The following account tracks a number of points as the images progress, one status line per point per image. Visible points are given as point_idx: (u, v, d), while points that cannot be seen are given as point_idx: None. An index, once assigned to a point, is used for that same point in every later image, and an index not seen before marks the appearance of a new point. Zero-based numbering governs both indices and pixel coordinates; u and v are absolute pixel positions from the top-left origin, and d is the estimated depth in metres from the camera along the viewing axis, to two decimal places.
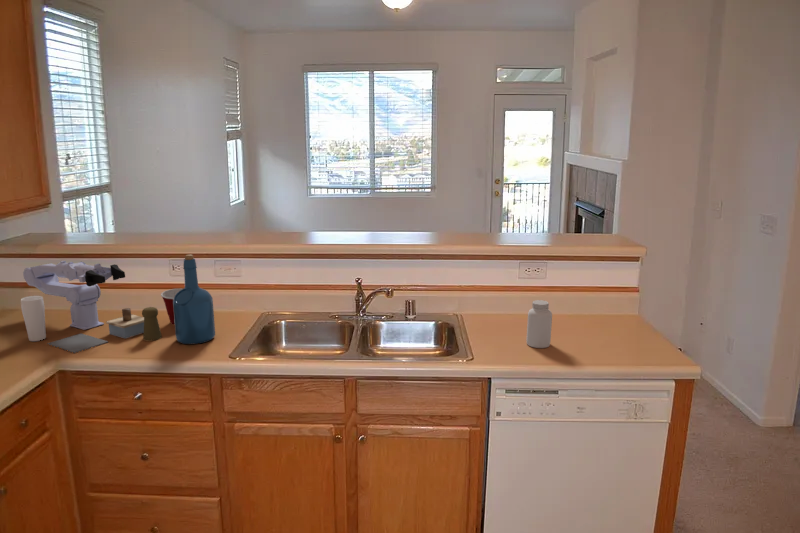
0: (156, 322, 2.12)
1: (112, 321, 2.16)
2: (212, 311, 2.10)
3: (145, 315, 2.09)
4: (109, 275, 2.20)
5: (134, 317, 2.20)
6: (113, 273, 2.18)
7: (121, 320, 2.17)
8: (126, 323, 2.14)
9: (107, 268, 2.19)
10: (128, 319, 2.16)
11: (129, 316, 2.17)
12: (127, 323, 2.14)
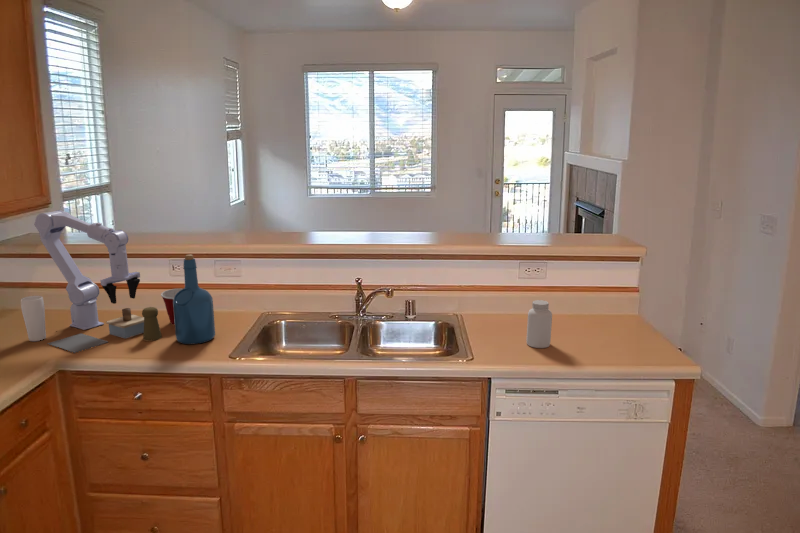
0: (156, 322, 2.12)
1: (112, 321, 2.16)
2: (212, 311, 2.10)
3: (145, 315, 2.09)
4: None
5: (134, 317, 2.20)
6: (130, 282, 2.24)
7: (121, 320, 2.17)
8: (126, 323, 2.14)
9: None
10: (128, 319, 2.16)
11: (129, 316, 2.17)
12: (127, 323, 2.14)
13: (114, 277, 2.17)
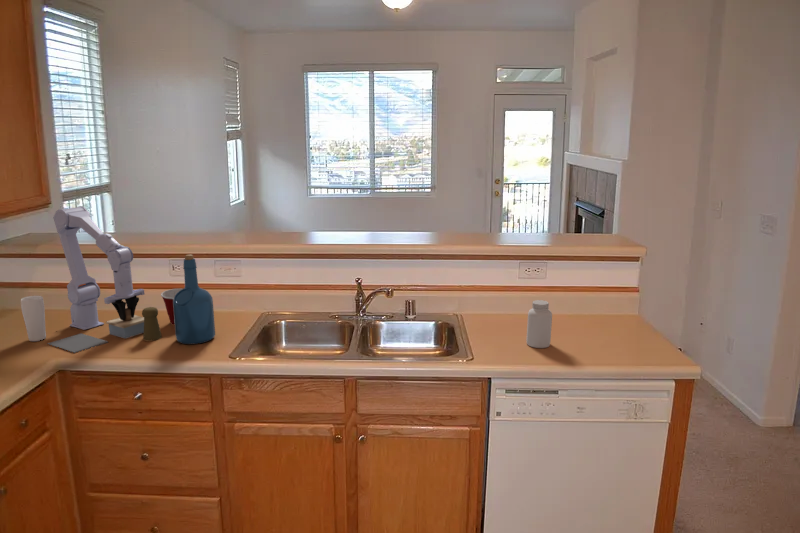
0: (156, 322, 2.12)
1: (112, 321, 2.16)
2: (212, 311, 2.10)
3: (145, 315, 2.09)
4: None
5: (134, 317, 2.20)
6: (129, 301, 2.17)
7: (121, 320, 2.17)
8: (126, 323, 2.14)
9: None
10: (128, 319, 2.16)
11: (129, 316, 2.17)
12: (127, 323, 2.14)
13: (118, 295, 2.13)
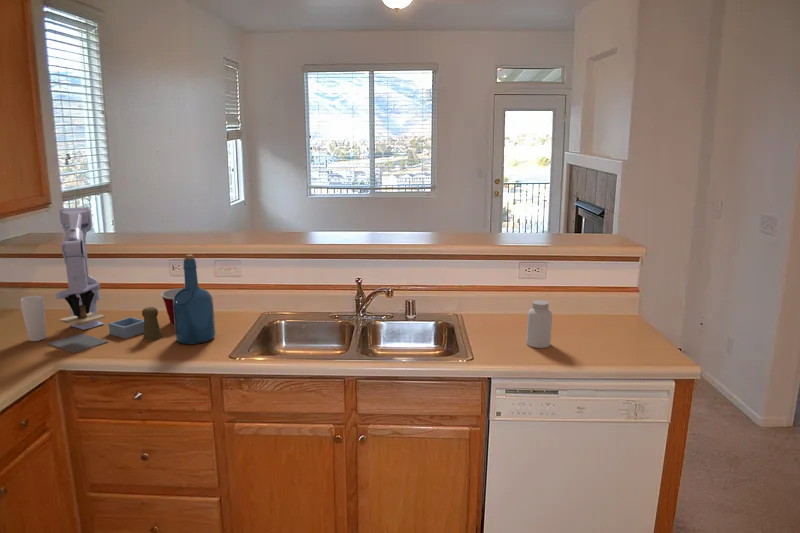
0: (156, 322, 2.12)
1: (66, 319, 2.06)
2: (212, 311, 2.10)
3: (145, 315, 2.09)
4: None
5: (90, 314, 2.10)
6: (83, 296, 2.07)
7: (76, 317, 2.07)
8: (81, 320, 2.04)
9: None
10: (83, 316, 2.06)
11: (84, 313, 2.06)
12: (82, 320, 2.04)
13: (71, 290, 2.02)
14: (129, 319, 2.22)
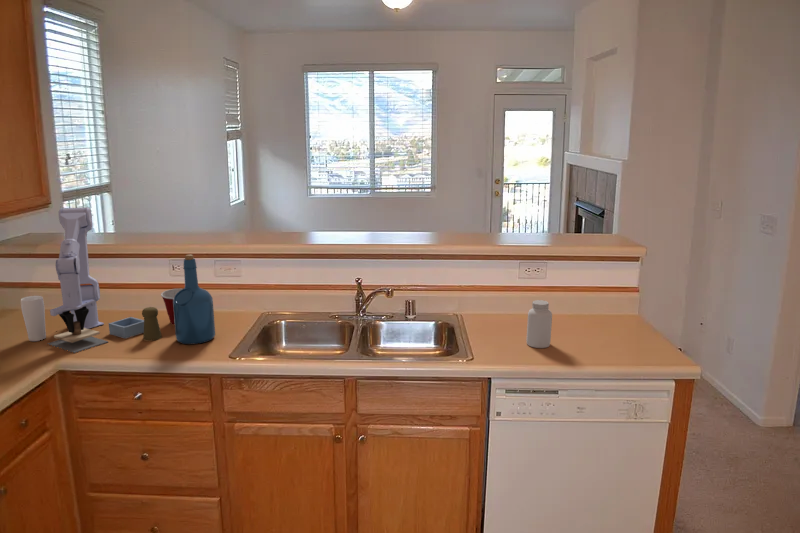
0: (156, 322, 2.12)
1: (61, 335, 2.05)
2: (212, 311, 2.10)
3: (145, 315, 2.09)
4: None
5: (84, 330, 2.10)
6: (78, 312, 2.07)
7: (70, 334, 2.06)
8: (75, 337, 2.03)
9: None
10: (77, 333, 2.06)
11: (78, 329, 2.06)
12: (76, 337, 2.03)
13: (65, 306, 2.02)
14: (129, 319, 2.22)
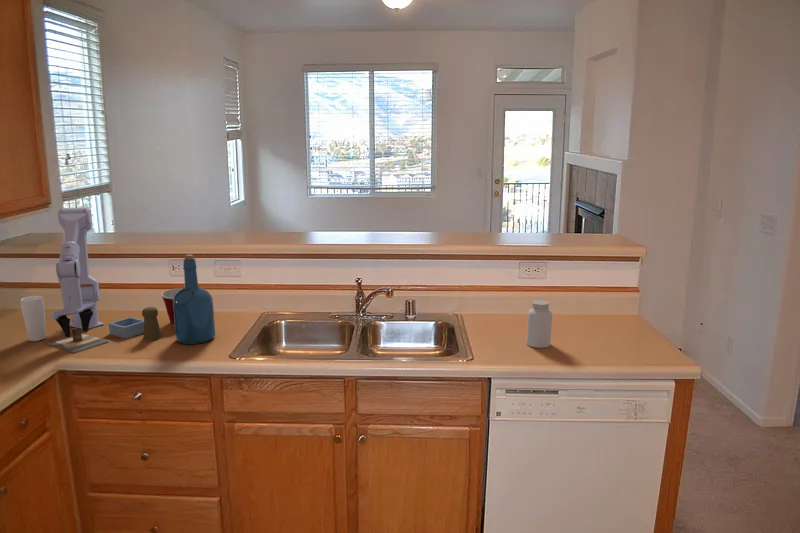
0: (156, 322, 2.12)
1: (62, 342, 2.06)
2: (212, 311, 2.10)
3: (145, 315, 2.09)
4: None
5: (85, 337, 2.11)
6: (82, 315, 2.08)
7: (71, 340, 2.07)
8: (76, 344, 2.04)
9: None
10: (78, 339, 2.07)
11: (79, 336, 2.07)
12: (77, 344, 2.04)
13: (66, 310, 2.02)
14: (129, 319, 2.22)
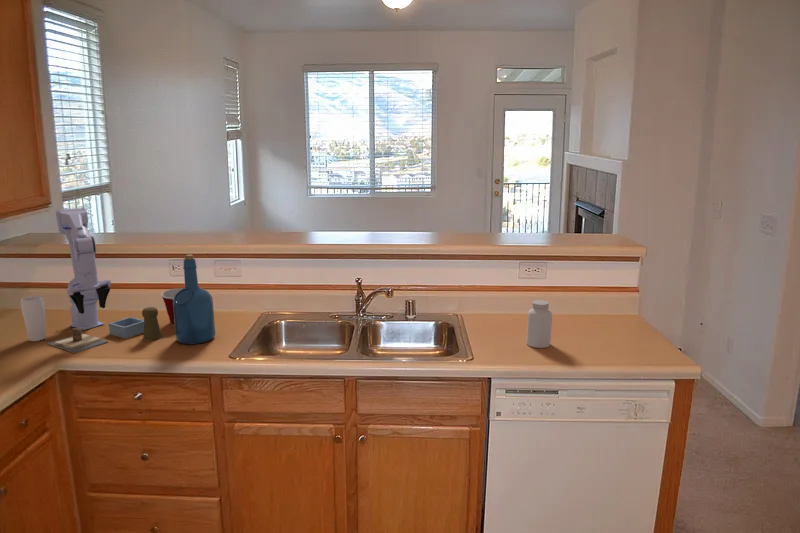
0: (156, 322, 2.12)
1: (62, 342, 2.06)
2: (212, 311, 2.10)
3: (145, 315, 2.09)
4: None
5: (85, 337, 2.11)
6: (100, 291, 2.13)
7: (71, 340, 2.07)
8: (76, 344, 2.04)
9: None
10: (78, 339, 2.07)
11: (79, 336, 2.07)
12: (77, 344, 2.04)
13: (82, 286, 2.06)
14: (129, 319, 2.22)
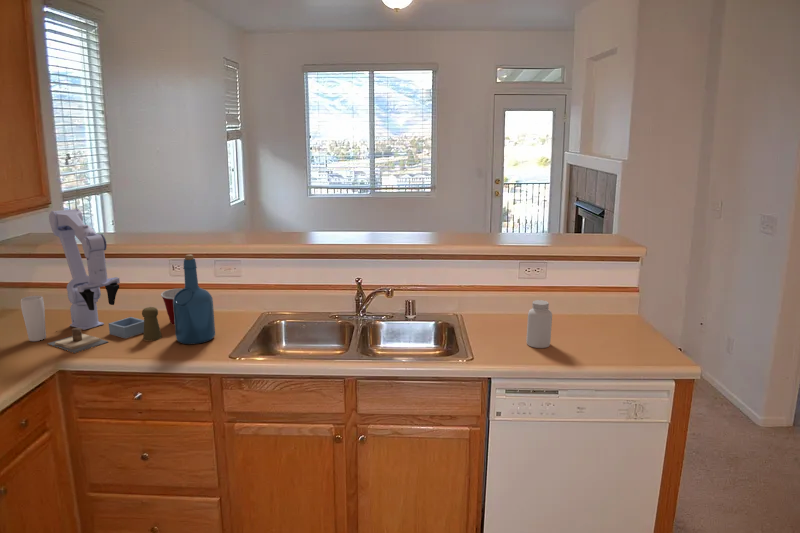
0: (156, 322, 2.12)
1: (62, 342, 2.06)
2: (212, 311, 2.10)
3: (145, 315, 2.09)
4: None
5: (85, 337, 2.11)
6: (109, 288, 2.16)
7: (71, 340, 2.07)
8: (76, 344, 2.04)
9: None
10: (78, 339, 2.07)
11: (79, 336, 2.07)
12: (77, 344, 2.04)
13: (92, 283, 2.09)
14: (129, 319, 2.22)
